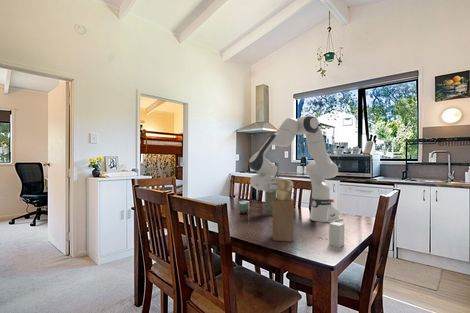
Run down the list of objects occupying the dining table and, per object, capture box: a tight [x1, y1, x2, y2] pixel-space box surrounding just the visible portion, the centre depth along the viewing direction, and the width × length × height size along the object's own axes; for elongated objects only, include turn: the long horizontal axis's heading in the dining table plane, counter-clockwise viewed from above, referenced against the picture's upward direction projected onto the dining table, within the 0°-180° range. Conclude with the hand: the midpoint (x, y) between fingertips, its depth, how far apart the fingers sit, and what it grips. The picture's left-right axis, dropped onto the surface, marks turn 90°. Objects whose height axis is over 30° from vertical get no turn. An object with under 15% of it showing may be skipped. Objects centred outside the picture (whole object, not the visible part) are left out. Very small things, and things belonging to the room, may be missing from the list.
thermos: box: [263, 172, 280, 217], centre depth 184 cm, size 9×12×35 cm
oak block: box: [276, 178, 292, 200], centre depth 129 cm, size 5×5×10 cm
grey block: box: [328, 221, 345, 248], centre depth 121 cm, size 5×5×10 cm
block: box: [272, 197, 295, 243], centre depth 129 cm, size 10×10×20 cm
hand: (284, 186), depth 128 cm, fingers open, 8 cm apart
